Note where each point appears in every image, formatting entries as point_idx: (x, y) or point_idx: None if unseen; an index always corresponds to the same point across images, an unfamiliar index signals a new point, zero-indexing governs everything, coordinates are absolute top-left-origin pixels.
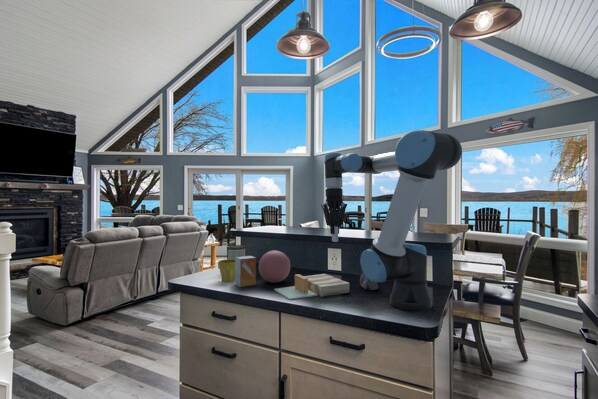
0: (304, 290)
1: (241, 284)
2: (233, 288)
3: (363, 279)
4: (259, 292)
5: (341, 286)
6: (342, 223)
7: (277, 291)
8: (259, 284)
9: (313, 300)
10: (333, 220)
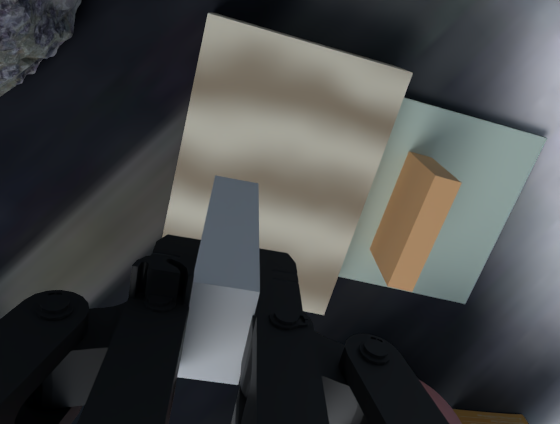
0: (432, 160)
1: (522, 422)
2: (550, 416)
3: (47, 11)
4: (530, 312)
5: (270, 30)
6: (43, 302)
7: (480, 268)
8: None
9: (475, 47)
10: (302, 403)
